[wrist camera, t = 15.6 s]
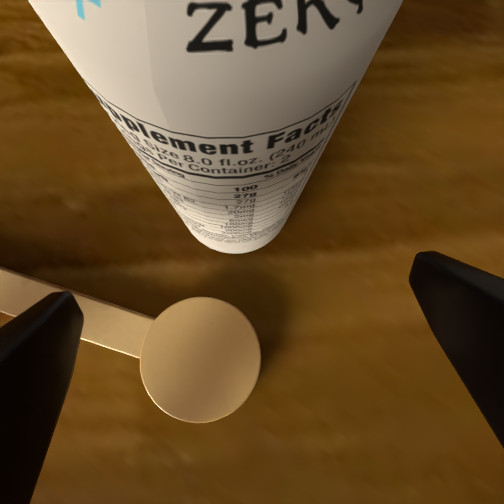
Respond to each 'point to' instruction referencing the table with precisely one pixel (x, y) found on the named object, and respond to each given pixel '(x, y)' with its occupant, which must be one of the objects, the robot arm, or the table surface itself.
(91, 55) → the energy drink can
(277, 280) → the table surface
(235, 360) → the wooden spoon
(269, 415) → the table surface
